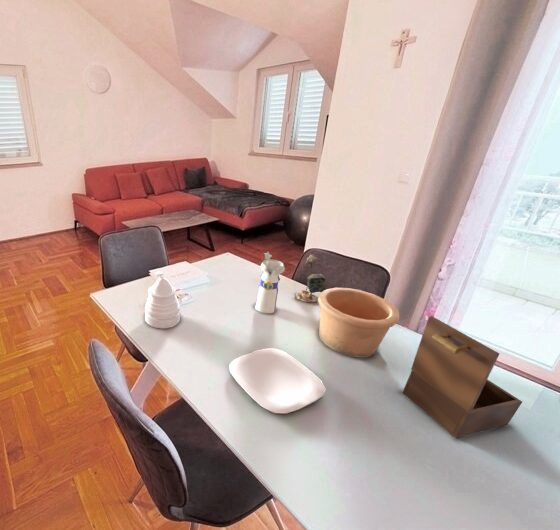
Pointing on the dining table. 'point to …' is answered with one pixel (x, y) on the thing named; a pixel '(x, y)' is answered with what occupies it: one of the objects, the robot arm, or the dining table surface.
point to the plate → (276, 380)
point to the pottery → (354, 320)
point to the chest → (458, 422)
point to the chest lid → (453, 363)
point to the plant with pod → (312, 284)
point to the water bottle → (268, 285)
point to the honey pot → (162, 304)
